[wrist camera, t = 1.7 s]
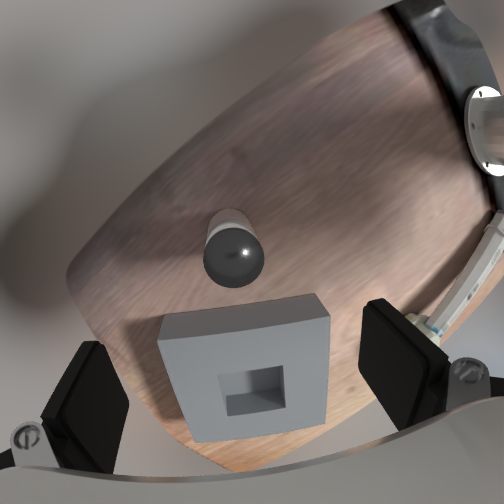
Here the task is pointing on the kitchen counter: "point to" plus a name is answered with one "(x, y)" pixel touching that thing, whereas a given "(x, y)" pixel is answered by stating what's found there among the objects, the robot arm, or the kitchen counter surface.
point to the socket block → (249, 367)
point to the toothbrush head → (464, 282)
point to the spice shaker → (232, 250)
